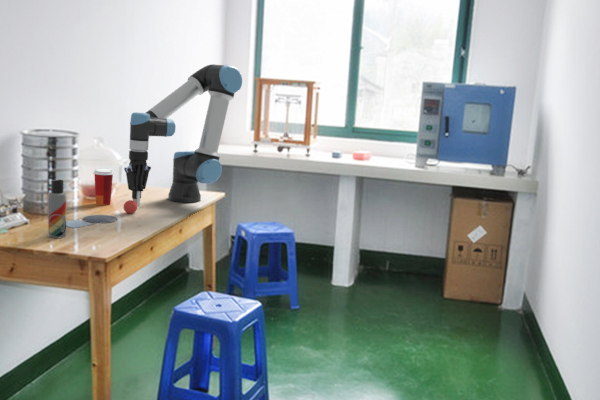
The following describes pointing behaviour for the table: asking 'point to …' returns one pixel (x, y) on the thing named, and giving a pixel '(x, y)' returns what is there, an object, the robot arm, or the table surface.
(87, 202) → the table surface
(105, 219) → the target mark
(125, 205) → the ball
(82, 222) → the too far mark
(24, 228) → the table surface
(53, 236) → the lotion bottle
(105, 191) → the coffee cup
